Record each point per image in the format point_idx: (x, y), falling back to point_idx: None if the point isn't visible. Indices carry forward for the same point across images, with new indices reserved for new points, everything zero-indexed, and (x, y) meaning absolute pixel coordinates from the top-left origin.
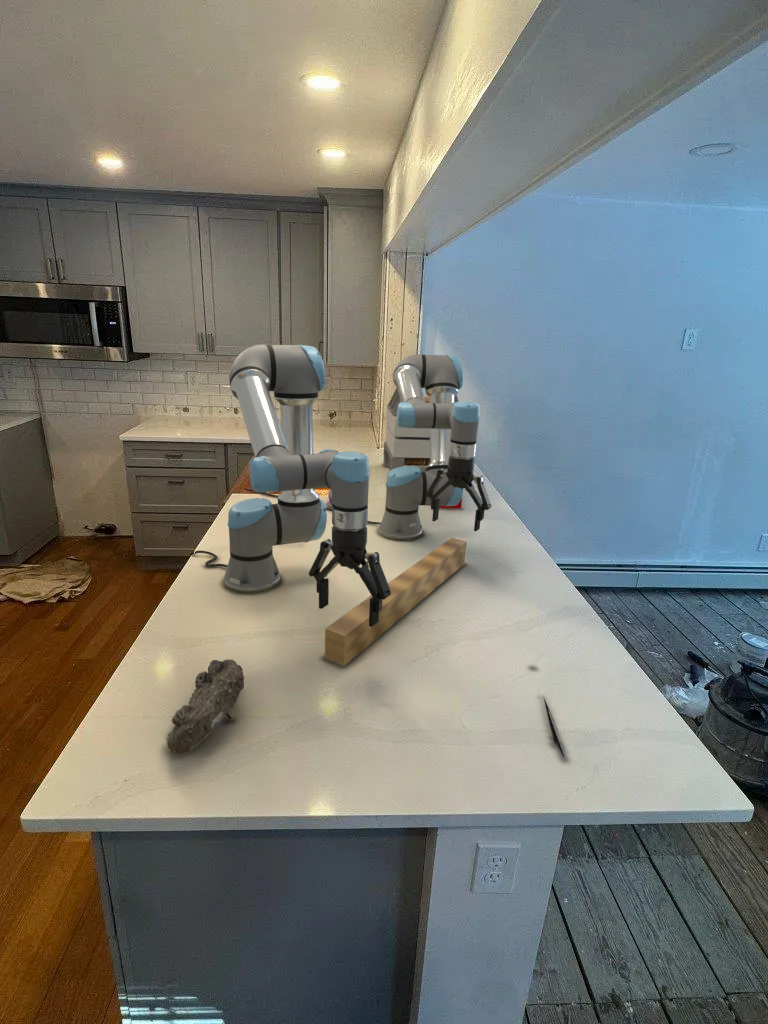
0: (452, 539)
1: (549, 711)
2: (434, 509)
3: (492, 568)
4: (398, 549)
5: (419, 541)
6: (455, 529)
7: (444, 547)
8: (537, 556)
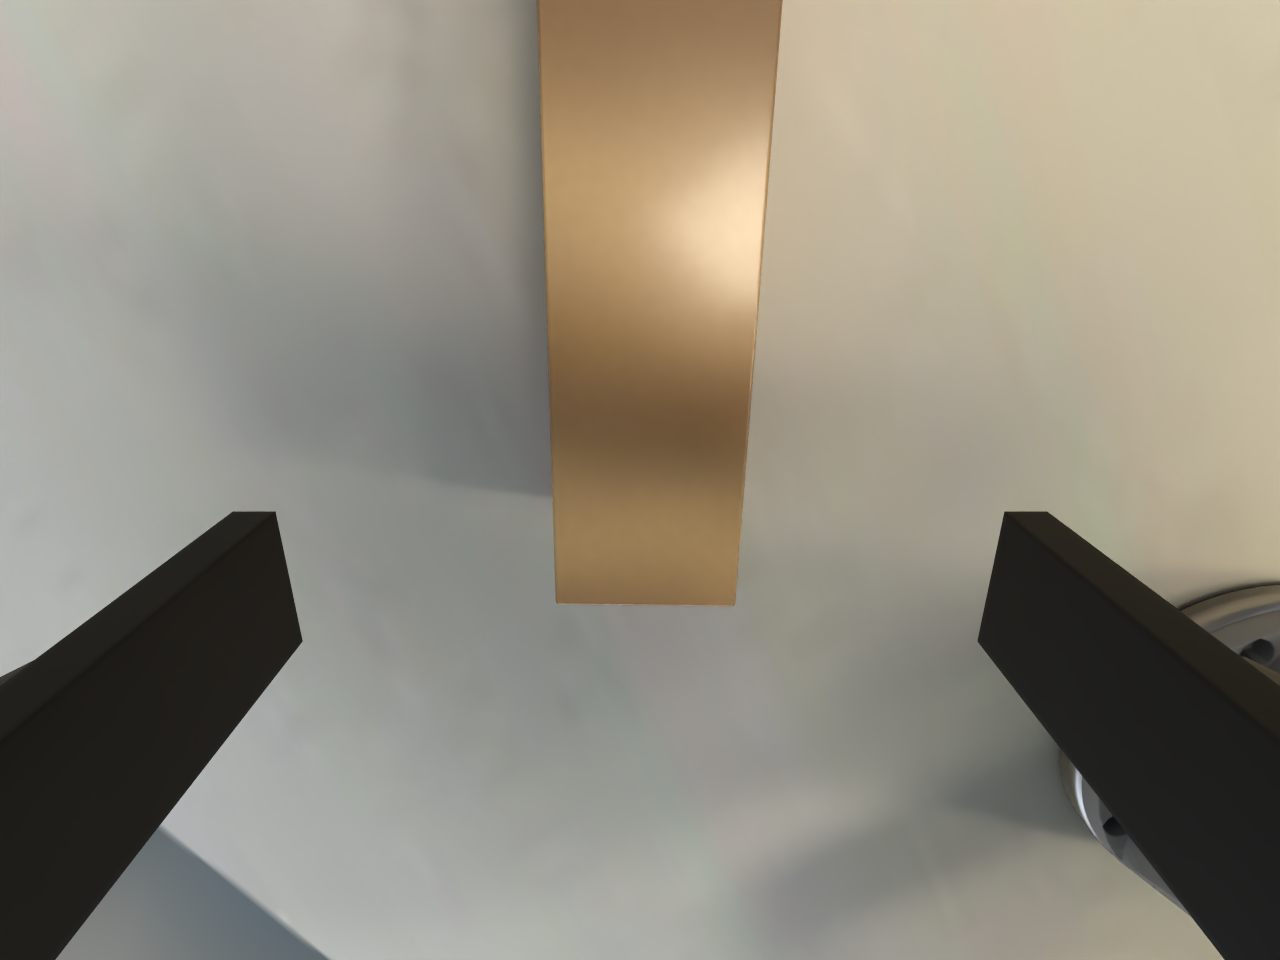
0: (705, 567)
1: None
2: (1178, 638)
3: (371, 548)
4: (1162, 444)
5: None
6: (864, 945)
7: (690, 305)
8: (239, 864)
